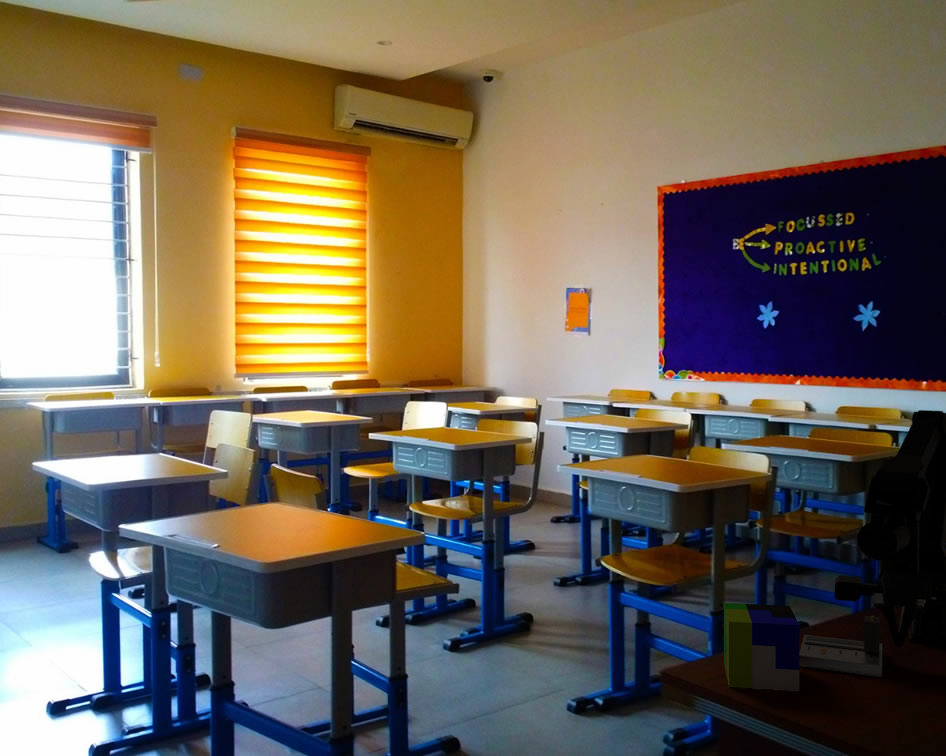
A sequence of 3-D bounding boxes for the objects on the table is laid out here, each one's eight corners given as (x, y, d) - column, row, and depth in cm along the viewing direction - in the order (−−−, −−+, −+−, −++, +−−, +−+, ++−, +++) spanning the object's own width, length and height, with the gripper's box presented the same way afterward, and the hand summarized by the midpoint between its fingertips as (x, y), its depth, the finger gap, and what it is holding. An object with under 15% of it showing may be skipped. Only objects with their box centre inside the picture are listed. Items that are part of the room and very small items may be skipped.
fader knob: (864, 645, 146) (864, 614, 146) (879, 647, 145) (879, 616, 145) (864, 651, 143) (864, 620, 143) (879, 653, 142) (879, 621, 142)
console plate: (804, 645, 153) (804, 634, 153) (882, 654, 148) (882, 642, 148) (798, 666, 143) (798, 654, 143) (881, 677, 138) (881, 664, 138)
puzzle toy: (799, 692, 132) (799, 625, 132) (728, 687, 134) (728, 621, 134) (789, 668, 142) (789, 605, 142) (724, 664, 144) (723, 602, 144)
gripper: (833, 554, 138) (833, 655, 139) (971, 565, 131) (970, 671, 131) (835, 540, 148) (835, 633, 149) (964, 549, 141) (963, 647, 141)
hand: (898, 646), depth 142 cm, fingers closed
